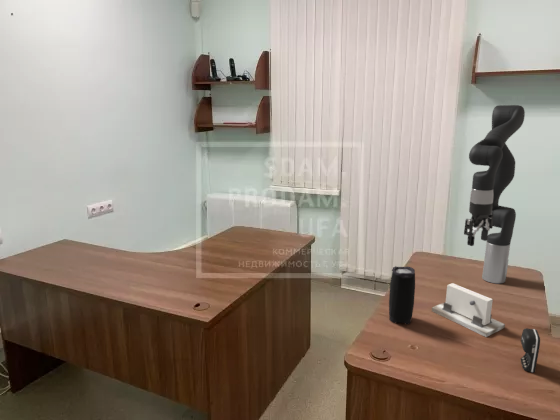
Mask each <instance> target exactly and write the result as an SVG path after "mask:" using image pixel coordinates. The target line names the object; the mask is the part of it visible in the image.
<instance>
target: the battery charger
mask: <svg viewBox="0 0 560 420" xmlns="http://www.w3.org/2000/svg"><path fill="white" fill-rule="evenodd" d="M520 343H521V347H522V350H523V352H524V355H523V356H521V358H520V363H521V366H522V370H524V372H525V371H526V372H530V373H533V374H534V373H536V368H537V363H538V357H539V353H540V345H541V337H540V334H539V332H538V330H537V329H535V328H528V327H527V328H526V327H525V328H524V329H522V332H521V338H520Z"/></svg>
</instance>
